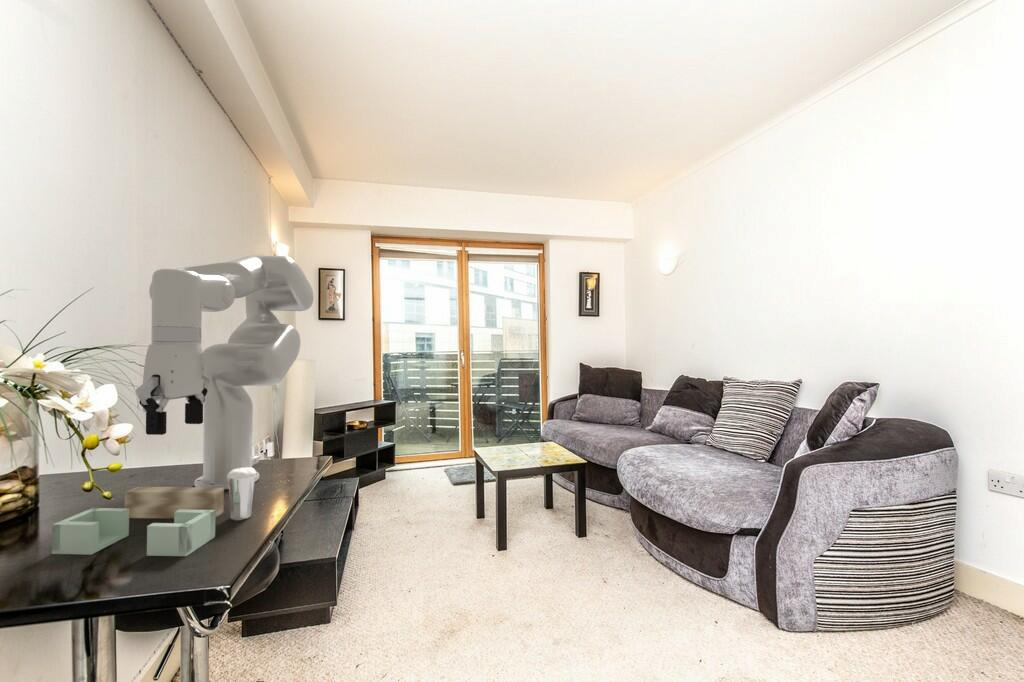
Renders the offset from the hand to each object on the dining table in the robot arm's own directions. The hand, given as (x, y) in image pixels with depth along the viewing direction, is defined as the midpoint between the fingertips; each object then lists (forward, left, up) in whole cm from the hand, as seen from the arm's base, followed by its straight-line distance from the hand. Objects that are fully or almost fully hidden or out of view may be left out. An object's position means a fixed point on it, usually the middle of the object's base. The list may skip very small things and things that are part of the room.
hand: (176, 428), depth 87 cm
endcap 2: (+13, +10, -16) cm, 23 cm away
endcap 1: (+13, -4, -16) cm, 21 cm away
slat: (0, 0, -16) cm, 16 cm away
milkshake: (0, +12, -16) cm, 20 cm away
